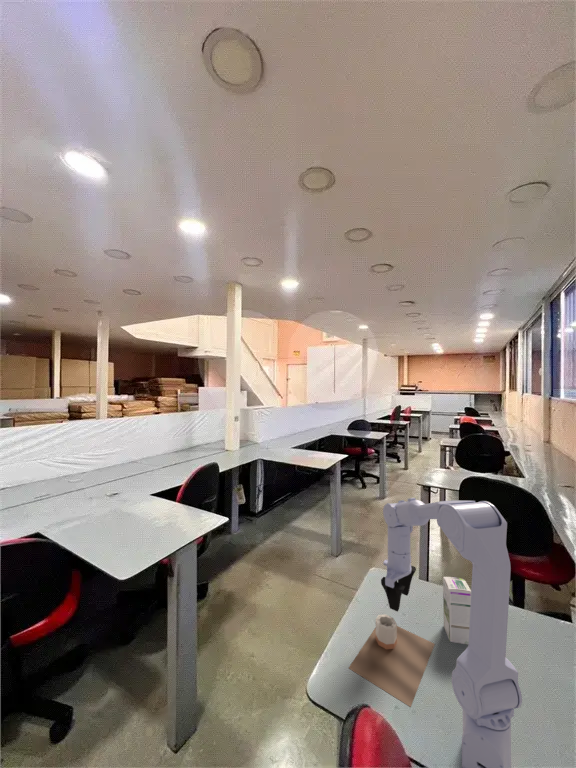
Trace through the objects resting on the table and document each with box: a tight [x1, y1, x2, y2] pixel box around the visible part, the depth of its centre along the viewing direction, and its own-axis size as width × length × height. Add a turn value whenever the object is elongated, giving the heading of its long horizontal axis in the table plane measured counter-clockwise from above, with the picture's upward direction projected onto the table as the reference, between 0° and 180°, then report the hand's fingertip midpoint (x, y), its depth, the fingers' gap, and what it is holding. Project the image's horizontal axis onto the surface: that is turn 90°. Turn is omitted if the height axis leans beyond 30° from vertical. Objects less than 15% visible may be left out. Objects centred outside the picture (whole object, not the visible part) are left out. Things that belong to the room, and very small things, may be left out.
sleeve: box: [375, 613, 398, 649], centre depth 79 cm, size 5×5×5 cm
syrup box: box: [442, 576, 471, 645], centre depth 81 cm, size 6×6×14 cm
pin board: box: [348, 623, 436, 708], centre depth 75 cm, size 20×14×5 cm
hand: (399, 601), depth 81 cm, fingers open, 7 cm apart
